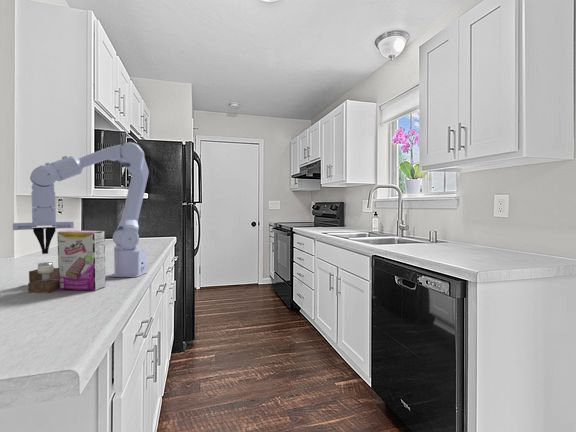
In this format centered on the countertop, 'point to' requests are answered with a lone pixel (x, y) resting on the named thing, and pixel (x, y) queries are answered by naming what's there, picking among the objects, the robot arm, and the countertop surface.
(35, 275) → the tall socket
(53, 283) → the low socket
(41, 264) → the steel knob
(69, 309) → the countertop surface
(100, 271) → the candy bar box
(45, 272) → the cream knob
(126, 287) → the countertop surface
